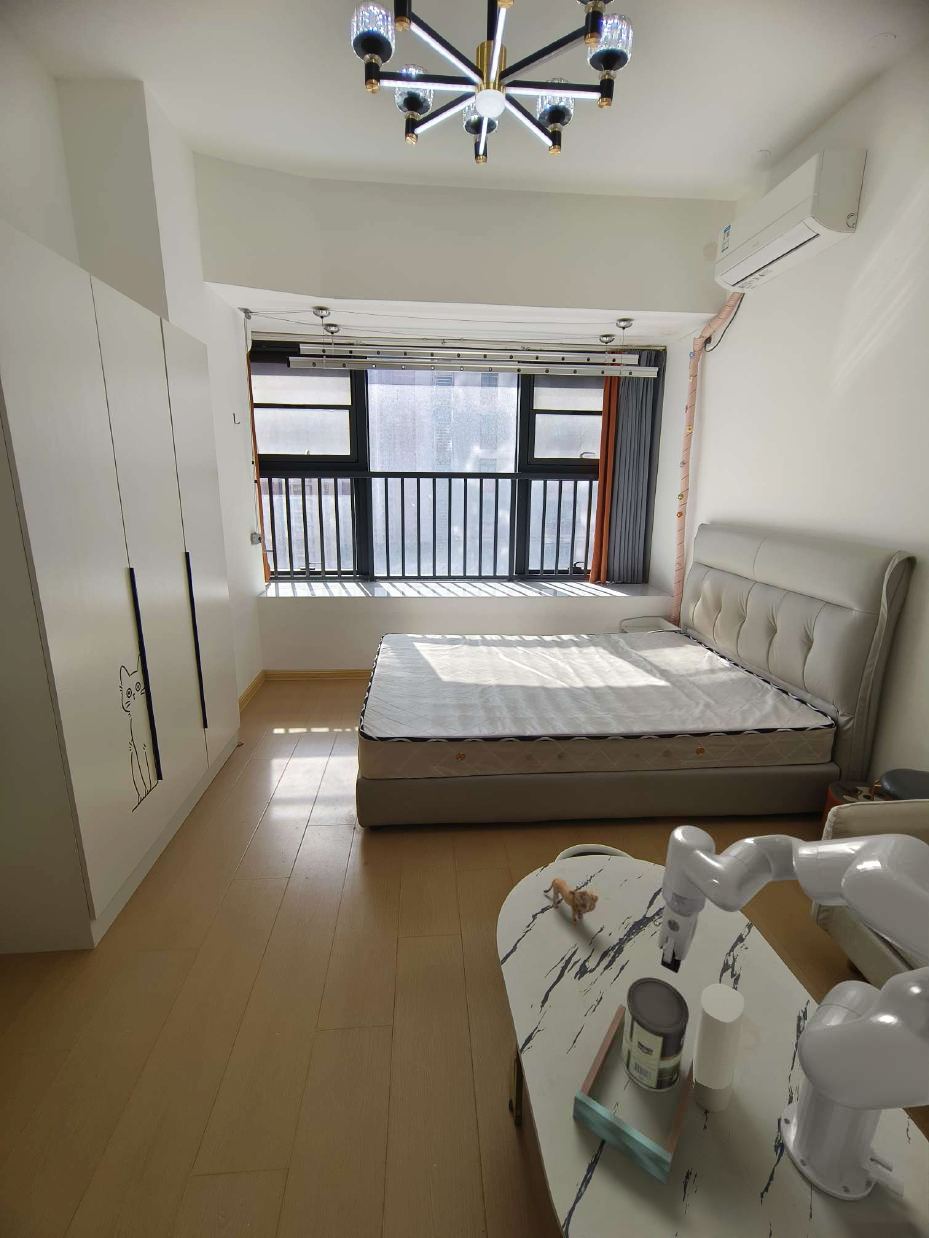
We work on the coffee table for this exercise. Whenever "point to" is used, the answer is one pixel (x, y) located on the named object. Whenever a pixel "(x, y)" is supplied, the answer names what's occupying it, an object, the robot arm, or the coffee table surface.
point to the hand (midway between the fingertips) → (670, 966)
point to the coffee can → (654, 1034)
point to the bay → (620, 1131)
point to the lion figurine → (573, 898)
